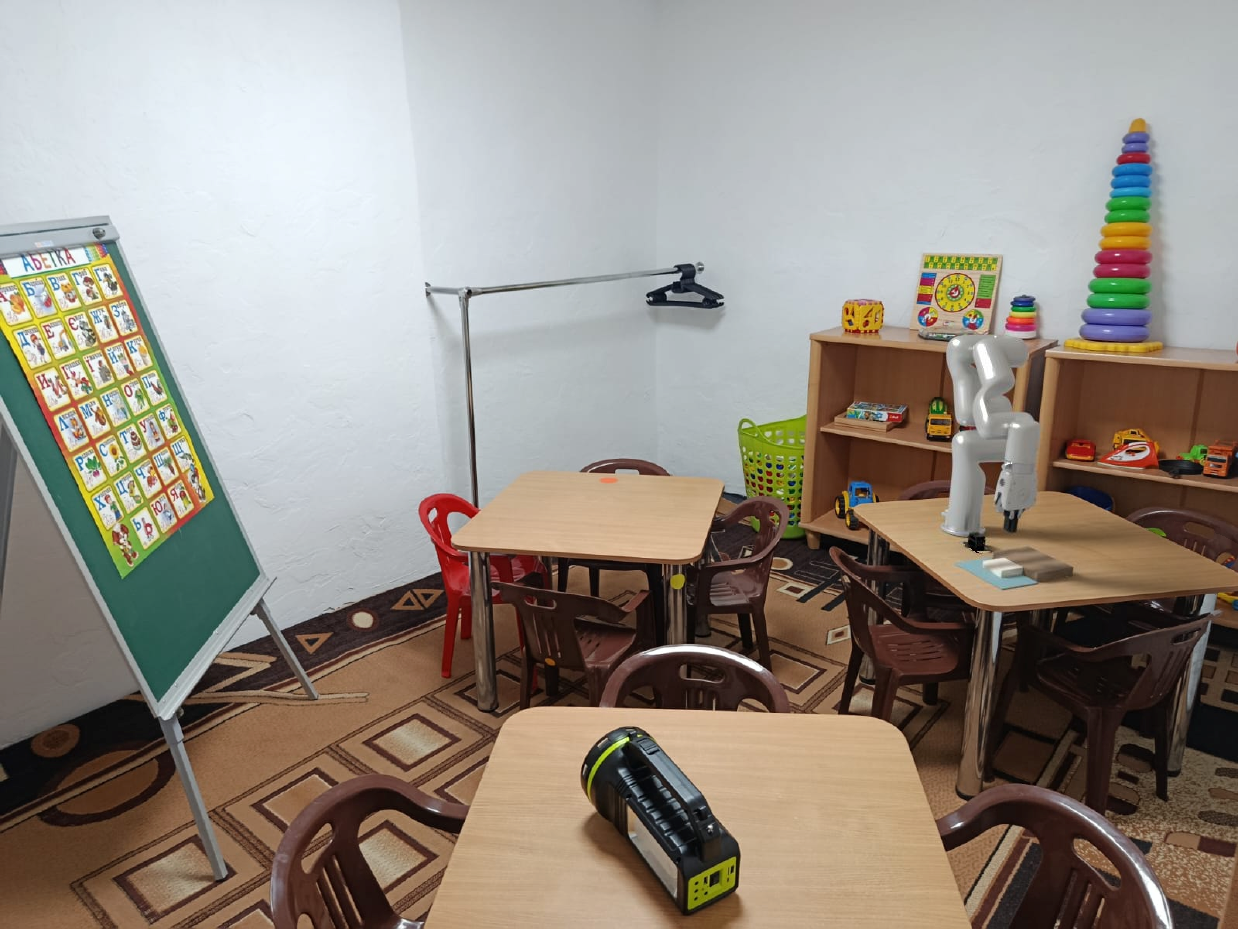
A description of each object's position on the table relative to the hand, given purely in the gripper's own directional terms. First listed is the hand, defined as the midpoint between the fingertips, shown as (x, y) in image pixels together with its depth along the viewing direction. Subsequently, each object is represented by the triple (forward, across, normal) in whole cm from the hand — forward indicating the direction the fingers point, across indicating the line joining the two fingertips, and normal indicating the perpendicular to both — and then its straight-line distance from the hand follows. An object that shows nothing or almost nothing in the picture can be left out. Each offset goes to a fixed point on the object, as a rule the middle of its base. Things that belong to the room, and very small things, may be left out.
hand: (1009, 530), depth 223 cm
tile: (+11, -2, -1) cm, 11 cm away
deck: (+12, +8, -1) cm, 14 cm away
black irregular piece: (+13, +4, +16) cm, 21 cm away
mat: (+11, -4, -1) cm, 12 cm away
